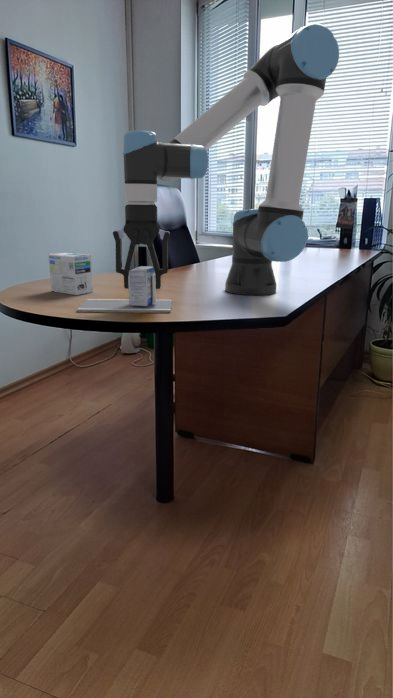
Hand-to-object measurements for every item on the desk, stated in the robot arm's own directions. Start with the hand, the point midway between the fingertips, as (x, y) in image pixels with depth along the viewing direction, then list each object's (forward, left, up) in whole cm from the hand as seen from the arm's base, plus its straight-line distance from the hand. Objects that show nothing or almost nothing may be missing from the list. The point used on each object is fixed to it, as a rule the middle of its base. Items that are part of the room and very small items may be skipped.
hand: (142, 301), depth 118 cm
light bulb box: (+22, -20, -2) cm, 30 cm away
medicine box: (0, 0, -1) cm, 1 cm away
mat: (+4, 0, -1) cm, 4 cm away
